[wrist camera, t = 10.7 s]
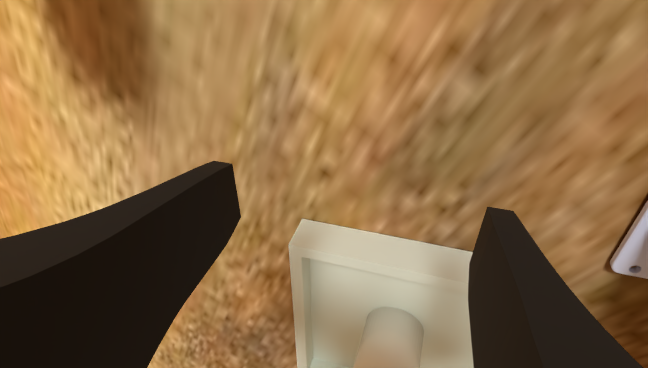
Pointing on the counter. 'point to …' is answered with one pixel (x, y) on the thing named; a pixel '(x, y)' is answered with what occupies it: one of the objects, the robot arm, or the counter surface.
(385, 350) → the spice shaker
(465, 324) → the tray
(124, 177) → the counter surface
